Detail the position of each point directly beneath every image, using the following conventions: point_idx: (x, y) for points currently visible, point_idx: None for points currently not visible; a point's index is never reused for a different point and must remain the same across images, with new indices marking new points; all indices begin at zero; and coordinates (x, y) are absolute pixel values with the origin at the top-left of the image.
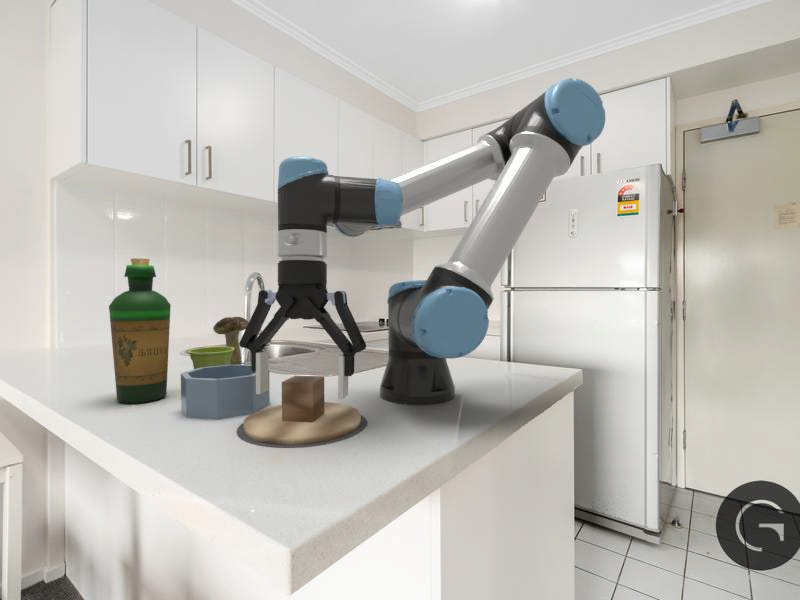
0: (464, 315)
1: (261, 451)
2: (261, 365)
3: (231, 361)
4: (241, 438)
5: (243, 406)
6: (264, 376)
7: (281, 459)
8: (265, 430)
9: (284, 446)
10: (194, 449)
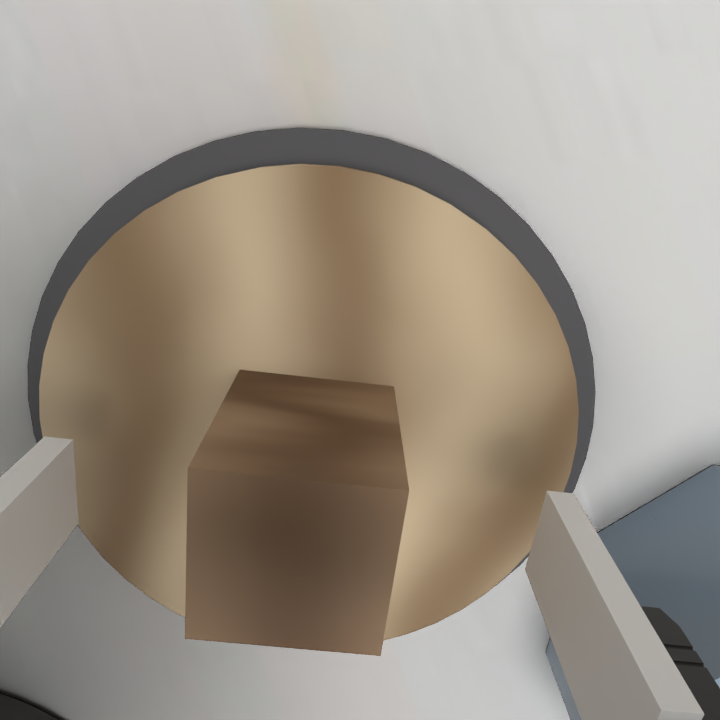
0: None
1: (400, 125)
2: (607, 632)
3: None
4: (532, 235)
5: (639, 555)
6: (565, 598)
7: (276, 31)
8: (425, 244)
9: (300, 143)
10: (710, 130)
